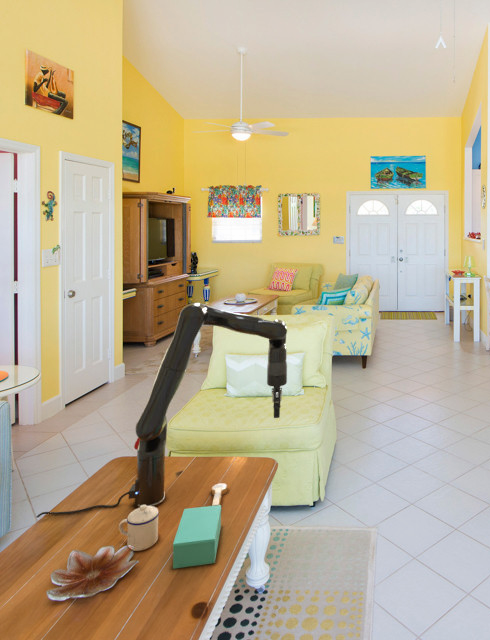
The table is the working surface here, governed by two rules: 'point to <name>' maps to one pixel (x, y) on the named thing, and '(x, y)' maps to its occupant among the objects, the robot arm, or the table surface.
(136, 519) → the teacup with lid
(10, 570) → the table surface
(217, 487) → the spoon
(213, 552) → the box
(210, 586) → the table surface
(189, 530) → the lunchbox lid
